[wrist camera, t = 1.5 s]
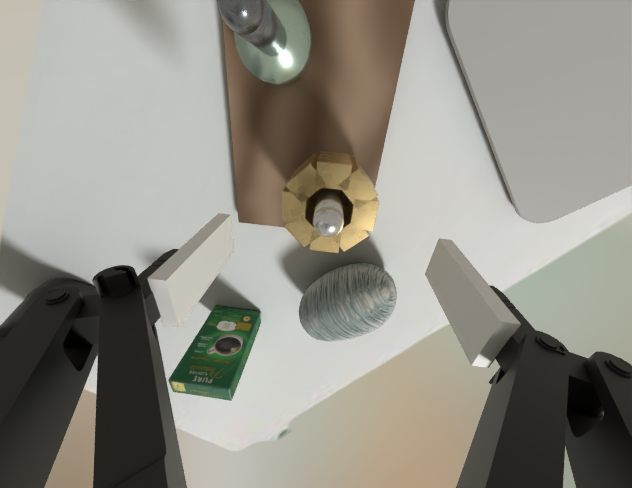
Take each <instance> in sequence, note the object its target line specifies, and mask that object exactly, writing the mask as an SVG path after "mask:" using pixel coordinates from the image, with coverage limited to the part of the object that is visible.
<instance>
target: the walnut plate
mask: <svg viewBox="0 0 632 488" xmlns="http://www.w3.org/2000/svg"><path fill="white" fill-rule="evenodd" d="M298 1H299V3H300V4H301V6H302V8H303V10H304V12H305V14H306V17H307V20H308V23H309V26H310V30H311V34H312V40H313V50H312V57H311V61H310V63H309V66H308V68H307V70H306V71H305V73H304V74H303V75H302V77H300V78H299V79H298V80H297V81H295V82H294V83H292V84H289V85H283V86H281V85H274V84H271V83H268V82H265V81H262V80H260V79H258V78H257V77H255V76H254V75H253V74H252V73H251V72H250V71H249V70H248V69H247V68H246V67H245V65H244V64H243V62H242V60H241V58H240V56H239V54H238V51H237V48H236V45H235V40H234V31H233V30H232V29H231V28H229V26H228V25H227V24H226V23H225V21H224V19H223V18H222V22H223V35H224V47H225V59H226V72H227V84H228V96H229V108H230V121H231V133H232V145H233V157H234V170H235V182H236V194H237V206H238V219H239V222H242V223H251V224H260V225H269V226H278V227H284V226H285V224H286V221H282V191H283V190H284V188H285V185H286V183H287V182H288V180H289V179H290V177H291V175H292V174H293V172H294V171H295V170H296V169H297V168H298V167H299V166H300V165H302V164H303V163H304V162H305V161H306V160H307V159H308V158H310V157H311V156H312V155H313V154H314V153H316V155H317V156H318V157H319V155H320V151H327V152H337V153H346V154H349V155H350V159H352V158H353V157H355V159H356V160H357V161H358V163H359V164H360V165H361V167H362V168H363V170H364V171H365V172H366V174H367V175H368V176H369V178H370V179H371V181H372V184H373V186H374V188H375V185H376V180H377V175H378V170H379V166H380V161H381V156H382V152H383V147H384V142H385V138H386V133H387V128H388V124H389V119H390V114H391V109H392V105H393V100H394V95H395V91H396V86H397V81H398V77H399V72H400V67H401V62H402V58H403V53H404V48H405V44H406V39H407V34H408V30H409V25H410V20H411V16H412V11H413V6H414V1H415V0H298Z"/></svg>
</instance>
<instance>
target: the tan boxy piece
mask: <svg viewBox="0 0 632 488" xmlns="http://www.w3.org/2000/svg"><path fill="white" fill-rule="evenodd" d="M320 188H329V189H338V190H342V191H343V192H344V193H345V195H346V196H347V197H348V198H349V201H348V203H347V204H346V205H345V206H343V218H344V224H343V227H342V229H341V231H340V232H339V233H338V234H336V235H335V236H332V237H325V236H322V235H320V234H319V233H317V231H316V230H315V229H314V226H313V217H314V212H315V206H316V205H315V204H314V203H313V202H312V200H311V199H310V196H312V195H313V194H314V193H315V192H317V191H318V190H319V189H320ZM377 196H378V194H377V192H376V190H375V188H374V186H373V184H372V181H371V179H370V178H369V176H368V175H367V174H366V172H365V171H364V170H363V168H362V167H361V165H360V164H359V163H358V161H357V160H356V159H355V157H353V158H352V159H350V155H349V154H346V153H337V152H327V151H320V155H319V157H318V156H317V155H316V153H314V154H313V155H312V156H311V157H310V158H308V159H307V160H306V161H305V162H304V163H303V164H302V165H300V166H299V167H298V168H297V169H296V170H295V171H294V172H293V174H292V175H291V177H290V179H289V180H288V182H287V183H286V185H285V188H284V190H283V191H282V221H286V224H285V226H284V227H285V228H286V229H287V230H288V231H289V232H290V233H291V234H292V235H293V236H294V237H295V238H296V239H297V240H298V241H299V242H300V243H301V244H302V245H303V247H305V246H307V245H308V244H310V250H315V251H324V252H333V253H338V252H339V246H340V247H341V249H342V250H343V251H344V252H345V251H346V250H348V249H349V248H351V247H352V246H354V245H356V244H357V243H359V242H360V241H362V240H363V239H365V238H366V237H368V236H369V234H368V230H369V231H373V227H374V222H375V218H376V214H377V209H378V205H379V200H378V198H377Z"/></svg>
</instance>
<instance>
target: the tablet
mask: <svg viewBox="0 0 632 488" xmlns="http://www.w3.org/2000/svg"><path fill="white" fill-rule="evenodd" d="M445 22H446V28H447V32H448V35H449V37H450V40H451V43H452V45H453V48H454V51H455V53H456V56H457V58H458V61H459V64H460V66H461V69H462V72H463V74H464V77H465V79H466V82H467V85H468V87H469V90H470V93H471V95H472V98H473V101H474V103H475V106H476V108H477V111H478V114H479V116H480V119H481V122H482V124H483V127H484V129H485V132H486V135H487V137H488V140H489V143H490V145H491V148H492V150H493V153H494V156H495V158H496V161H497V164H498V166H499V169H500V171H501V174H502V177H503V179H504V182H505V185H506V187H507V190H508V192H509V195H510V198H511V200H512V203H513V206H514V208H515V210H516V212H517V214H518V215H519V216H520V217H522V218H523V219H525V220H527V221H529V222H533V223H545V222H550V221H554V220H556V219H559V218H561V217H563V216H565V215H567V214H569V213H572V212H574V211H576V210H578V209H580V208H583V207H585V206H587V205H589V204H591V203H594V202H596V201H598V200H600V199H602V198H605V197H607V196H609V195H611V194H613V193H615V192H618V191H620V190H622V189H624V188H626V187H629V186H631V185H632V0H447V3H446V10H445Z"/></svg>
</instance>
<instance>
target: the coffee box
mask: <svg viewBox="0 0 632 488" xmlns="http://www.w3.org/2000/svg"><path fill="white" fill-rule="evenodd" d="M260 323H261V312H260V311H253V310H245V309H237V308H229V307H221V306H215V307H214V308H213V310H212V311H211V313H210V315H209V316H208V318H207V320H206V321H205V323H204V325H203V326H202V328H201V329H200V331H199V333H198V334H197V336H196V337H195V339H194V340H193V342H192V343H191V345H190V347H189V348H188V350H187V351H186V353H185V355H184V356H183V358H182V359H181V361H180V362H179V364H178V366H177V367H176V369H175V370H174V372H173V373H172V375H171V377H170V378H169V383H170V385H171V388H172V390H173V392H178V393H185V394H192V395H199V396H206V397H212V398H219V399H224V400H230V401H231V400H232V398H233V396H234V393H235V390H236V388H237V385H238V382H239V380H240V377H241V375H242V372H243V369H244V367H245V364H246V362H247V359H248V356H249V353H250V351H251V348H252V346H253V343H254V340H255V337H256V335H257V332H258V330H259V327H260Z"/></svg>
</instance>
